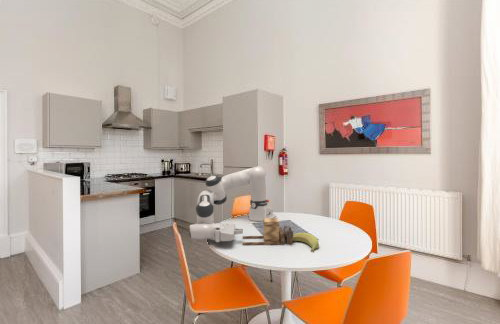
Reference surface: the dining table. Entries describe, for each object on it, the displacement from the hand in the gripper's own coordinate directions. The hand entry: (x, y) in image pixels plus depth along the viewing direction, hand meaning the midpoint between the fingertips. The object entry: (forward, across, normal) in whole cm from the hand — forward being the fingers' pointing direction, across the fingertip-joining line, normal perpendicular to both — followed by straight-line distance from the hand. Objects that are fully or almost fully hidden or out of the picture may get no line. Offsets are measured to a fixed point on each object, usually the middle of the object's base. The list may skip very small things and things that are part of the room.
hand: (242, 231), depth 146 cm
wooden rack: (+14, 0, -6) cm, 15 cm away
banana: (+33, +7, -6) cm, 34 cm away
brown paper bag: (+16, 0, -6) cm, 17 cm away
